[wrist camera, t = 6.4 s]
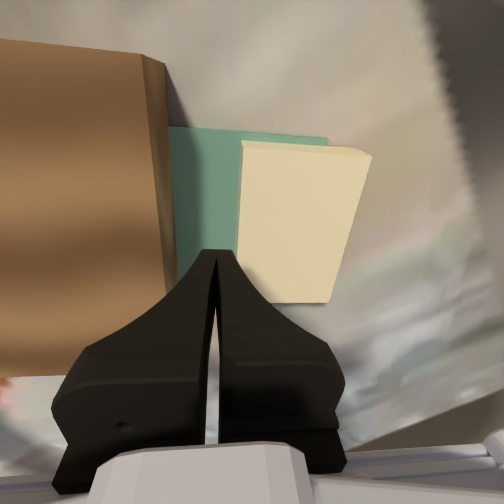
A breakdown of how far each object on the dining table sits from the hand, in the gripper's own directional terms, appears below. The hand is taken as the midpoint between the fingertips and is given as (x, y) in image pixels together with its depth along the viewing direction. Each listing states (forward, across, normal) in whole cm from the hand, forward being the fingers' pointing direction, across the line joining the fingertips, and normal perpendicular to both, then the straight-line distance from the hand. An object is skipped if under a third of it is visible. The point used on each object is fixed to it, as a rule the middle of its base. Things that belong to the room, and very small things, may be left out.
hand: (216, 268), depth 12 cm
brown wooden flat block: (+5, +8, 0) cm, 10 cm away
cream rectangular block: (+3, -4, 0) cm, 5 cm away
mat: (+5, -2, 0) cm, 5 cm away
